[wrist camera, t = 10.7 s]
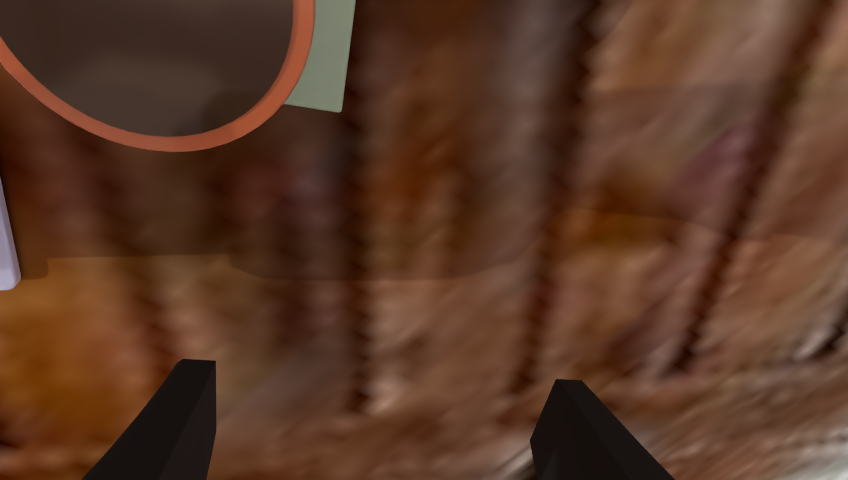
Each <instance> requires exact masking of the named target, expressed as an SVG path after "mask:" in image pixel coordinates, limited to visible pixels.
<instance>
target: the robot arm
mask: <svg viewBox="0 0 848 480" xmlns="http://www.w3.org/2000/svg"><path fill="white" fill-rule="evenodd" d="M20 280H21V273H20V268H19V264H18V259H17V254H16V249H15V245H14V240H13V235H12V230H11V226H10V221H9V216H8V212H7V207H6V202H5V197H4V193H3V188H2V183H1V178H0V290H10V289H12V288H14V287H15V286H16V285H17V284H18V282H19V281H20ZM215 435H216V361H210V360H191V359H182V360H181V361H179V362H178V363H177V364H176V365H175V367H174V368H173V370H172V371H171V373H170V374H169V375H168V377H167V378H166V380H165V381H164V382H163V384H162V385H161V386H160V388H159V389H158V390H157V392H156V393H155V394H154V396H153V397H152V398H151V400H150V401H149V402H148V403H147V405H146V406H145V407H144V408H143V410H142V411H141V412H140V413H139V415H138V416H137V417H136V418H135V420H134V421H133V422H132V423H131V424H130V425H129V427H128V428H127V429H126V430H125V431H124V433H123V434H122V435H121V436H120V437H119V438H118V440H117V441H116V442H115V443H114V444H113V446H112V447H111V448H110V449H109V450H108V451H107V453H106V454H105V455H104V456H103V457H102V458H101V459H100V460H99V461H98V462H97V464H96V465H95V466H94V467H93V468H92V469H91V470H90V471H89V472H88V473H87V474H86V475H85V476H84V477H83V479H82V480H206V478H207V474H208V469H209V464H210V460H211V455H212V450H213V445H214V440H215ZM530 444H531V450H532V455H533V460H534V466H535V470H536V475H537V479H538V480H675V479H674V478H673V477H672V476H671V475H670V474H669V473H668V472H667V471H666V470H665V469H664V468H663V467H662V466H661V465H660V464H659V463H658V462H657V461H656V460H655V459H654V458H653V457H652V456H651V455H650V454H649V453H648V451H647V450H646V449H645V448H644V447H643V446H642V445H641V444H640V443H639V442H638V441H637V440H636V439H635V438H634V437H633V436H632V434H631V433H630V432H629V431H628V430H627V429H626V428H625V427H624V426H623V425H622V424H621V422H620V421H619V420H618V419H617V418H616V417H615V416H614V415H613V414H612V413H611V412H610V410H609V409H608V408H607V407H606V406H605V405H604V404H603V403H602V402H601V401H600V400H599V398H598V397H597V396H596V395H595V394H594V393H593V392H592V391H591V390H590V389H589V388H588V387H587V386H586V385H585V384H584V383H583V382H582V381H581V380H564V379H556V380H555V383H554V385H553V387H552V390H551V392H550V394H549V397H548V399H547V401H546V404H545V406H544V408H543V411H542V413H541V415H540V418H539V420H538V422H537V425H536V427H535V429H534V432H533V434H532V436H531V439H530Z"/></svg>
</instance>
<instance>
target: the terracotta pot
mask: <svg viewBox="0 0 848 480" xmlns="http://www.w3.org/2000/svg"><path fill="white" fill-rule="evenodd" d="M315 22H316V0H0V63H1V64H2V65H3V66H4V67H5V69H6V70H7V71H8V72H9V73H10V74H11V75H12V76H13V77H14V78H15V79H16V80H17V81H18V82H19V83H20V84H21V85H22V86H23V87H24V88H25V89H26V90H27V91H28V92H29V93H31V94H32V95H33V96H34V97H35V98H37V99H38V100H39V101H40V102H42V103H43V104H44V105H45V106H47V107H48V108H49V109H51V110H52V111H54V112H55V113H57V114H58V115H60V116H61V117H63V118H64V119H66V120H68V121H69V122H71V123H73V124H75V125H77V126H79V127H81V128H82V129H84V130H86V131H88V132H90V133H93V134H95V135H98V136H100V137H102V138H105V139H107V140H110V141H113V142H117V143H120V144H123V145H126V146H130V147H135V148H140V149H145V150H151V151H164V152H188V151H197V150H203V149H209V148H213V147H216V146H220V145H223V144H227V143H229V142H232V141H234V140H236V139H238V138H241V137H243V136H245V135H247V134H248V133H250V132H251V131H253V130H255V129H256V128H258V127H259V126H261V125H262V124H263V123H264V122H265V121H267V120H268V119H269V118H270V117H271V116H273V115H274V114H275V113H276V112H277V110H278V109H279V108H280V107H281V106H282V105H283V104H284V102H285V101H286V100H287V99H288V97H289V96H290V94H291V92H292V91H293V89H294V88H295V86H296V85H297V83H298V81H299V78H300V76H301V74H302V72H303V70H304V68H305V65H306V62H307V58H308V55H309V52H310V48H311V45H312V41H313V35H314V29H315Z"/></svg>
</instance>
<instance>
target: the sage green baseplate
mask: <svg viewBox="0 0 848 480" xmlns="http://www.w3.org/2000/svg"><path fill="white" fill-rule="evenodd" d="M355 3H356V0H316V22H315V29H314V35H313V41H312V45H311V48H310V52H309V55H308V58H307V62H306V65H305V68H304V70H303V72H302V74H301V76H300V78H299V81H298V83H297V85H296V86H295V88H294V89H293V91H292V92H291V94H290V96H289V97H288V99H287V100H286V101H285V102H284V104H287V105H294V106H300V107H306V108H312V109H319V110H325V111H331V112H341V110H342V105H343V97H344V89H345V81H346V73H347V65H348V58H349V50H350V42H351V34H352V26H353V19H354V11H355Z"/></svg>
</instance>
